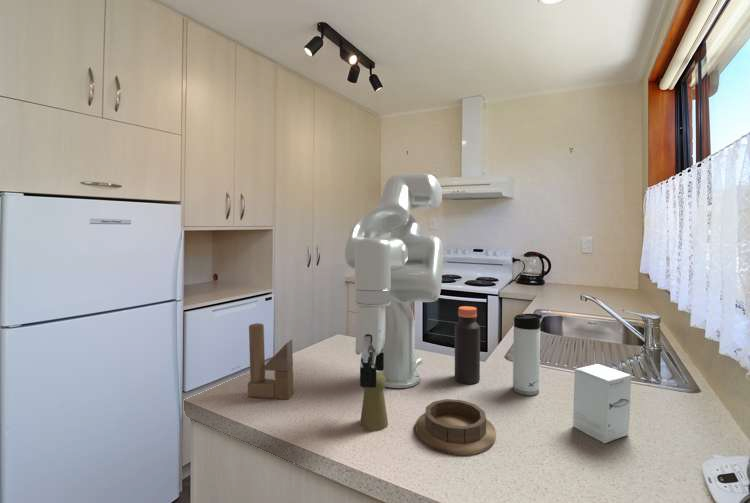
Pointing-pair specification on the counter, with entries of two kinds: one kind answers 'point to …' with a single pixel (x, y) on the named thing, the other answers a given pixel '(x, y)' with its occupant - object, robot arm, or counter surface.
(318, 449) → the counter surface
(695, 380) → the counter surface
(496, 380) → the counter surface
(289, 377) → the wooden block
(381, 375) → the olive knobbed pestle
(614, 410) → the supplement box
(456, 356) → the bottle
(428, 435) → the collar stand
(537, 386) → the travel mug
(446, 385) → the counter surface
